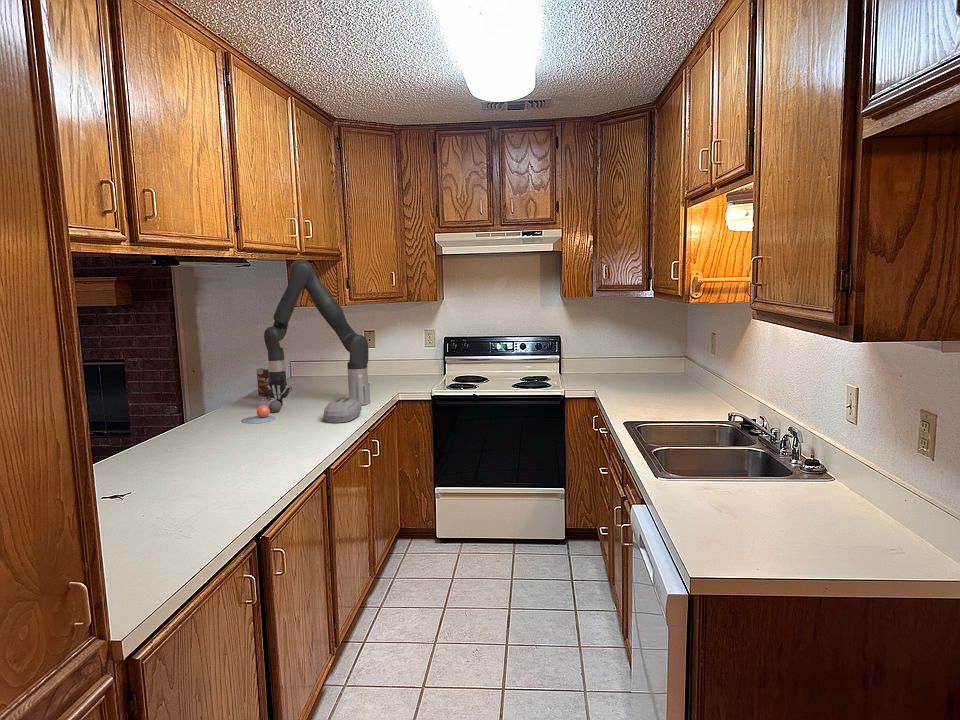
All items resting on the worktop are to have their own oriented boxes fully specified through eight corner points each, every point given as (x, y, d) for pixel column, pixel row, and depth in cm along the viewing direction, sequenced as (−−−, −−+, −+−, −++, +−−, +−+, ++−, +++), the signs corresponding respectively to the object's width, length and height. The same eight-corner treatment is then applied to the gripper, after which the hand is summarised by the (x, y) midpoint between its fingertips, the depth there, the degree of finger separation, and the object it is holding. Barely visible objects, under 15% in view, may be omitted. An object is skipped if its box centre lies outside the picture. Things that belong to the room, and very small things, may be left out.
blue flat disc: (281, 416, 284) (281, 416, 284) (265, 423, 271) (265, 423, 270) (251, 415, 287) (251, 415, 287) (234, 423, 273) (234, 422, 273)
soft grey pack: (332, 414, 288) (317, 424, 268) (331, 395, 287) (316, 404, 267) (365, 414, 287) (353, 424, 267) (365, 395, 285) (352, 404, 266)
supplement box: (258, 400, 323) (255, 369, 321) (265, 398, 327) (263, 367, 325) (270, 401, 319) (268, 369, 317) (278, 400, 323) (276, 368, 321)
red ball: (269, 402, 282) (265, 412, 278) (273, 411, 286) (268, 420, 282) (257, 402, 283) (252, 411, 279) (261, 411, 286) (256, 420, 282)
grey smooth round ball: (279, 399, 291) (276, 410, 289) (284, 403, 296) (281, 414, 294) (268, 397, 292) (265, 409, 290) (274, 402, 297) (270, 413, 295)
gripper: (259, 371, 292) (261, 408, 294) (286, 371, 290) (289, 409, 292) (267, 368, 299) (270, 405, 302) (294, 368, 297) (296, 405, 299)
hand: (279, 407), depth 297 cm, fingers closed
